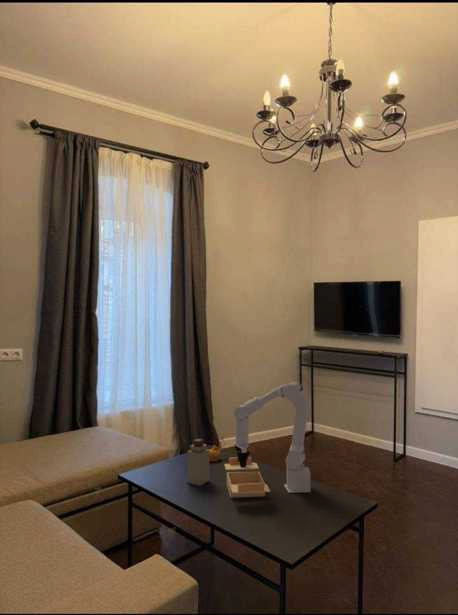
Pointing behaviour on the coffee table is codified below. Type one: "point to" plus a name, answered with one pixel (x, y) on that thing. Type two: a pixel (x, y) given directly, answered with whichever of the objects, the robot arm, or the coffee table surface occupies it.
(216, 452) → the magic lamp
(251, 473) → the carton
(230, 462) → the far panel
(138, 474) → the coffee table surface
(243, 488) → the near panel
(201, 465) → the perfume bottle
